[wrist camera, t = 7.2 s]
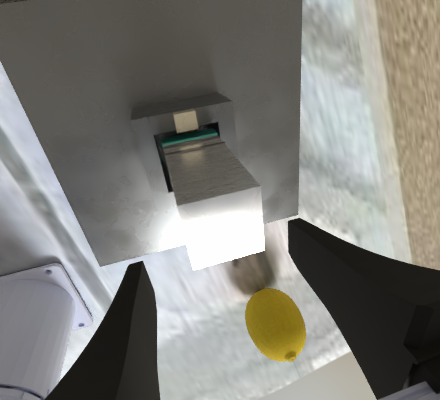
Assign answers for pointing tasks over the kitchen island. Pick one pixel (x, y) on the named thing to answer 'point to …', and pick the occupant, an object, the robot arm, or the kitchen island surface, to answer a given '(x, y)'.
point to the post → (214, 198)
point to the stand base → (155, 103)
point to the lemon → (275, 325)
